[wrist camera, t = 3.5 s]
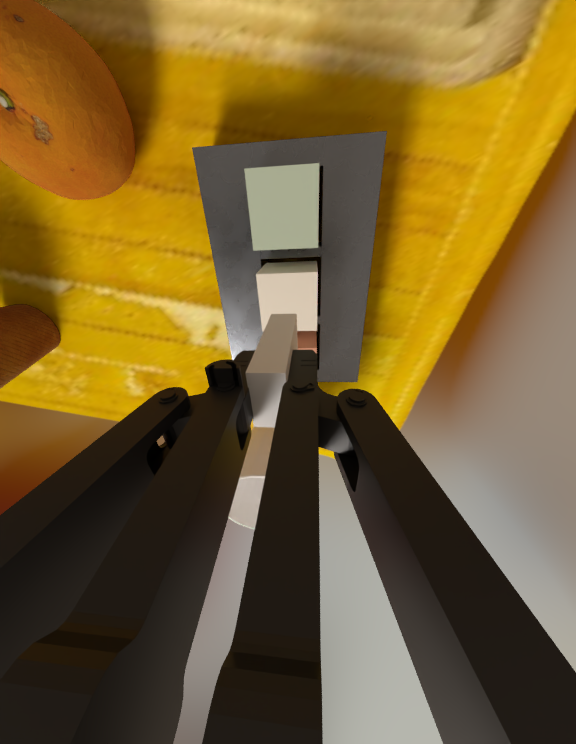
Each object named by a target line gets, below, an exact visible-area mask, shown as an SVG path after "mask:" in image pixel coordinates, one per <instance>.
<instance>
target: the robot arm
mask: <svg viewBox="0 0 576 744" xmlns="http://www.w3.org/2000/svg"><path fill="white" fill-rule="evenodd" d="M205 371H206V375H207V379H208V383H209V388H208V390H207V391H206V393H203V394H198V395H193V396H188V393H187V391H186V390H185V389H183V388H181V387H172V388H167V389H164V390H162V391H160V392H158V393H156V394H155V395H153V396H152V397H151V398H150V399H148V400H147V401H146V402H144V403H143V404H142V405H141V406H139V407H138V408H137V409H136V410H134V411H133V412H132V413H130V414H129V415H128V416H127V417H125V418H124V419H123V420H121V421H120V422H119V423H118V424H116V425H115V426H114V427H113V428H111V429H110V430H109V431H107V432H106V433H105V434H104V435H102V436H101V437H100V438H98V439H97V440H96V441H95V442H93V443H92V444H91V445H90V446H88V447H87V448H86V449H85V450H83V451H82V452H81V453H79V454H78V455H77V456H75V457H74V458H73V459H72V460H70V461H69V462H68V463H66V464H65V465H64V466H63V467H61V468H60V469H59V470H58V471H56V472H55V473H54V474H52V475H51V476H50V477H49V478H47V479H46V480H45V481H43V482H42V483H41V484H40V485H38V486H37V487H36V488H35V489H33V490H32V491H31V492H29V493H28V494H27V495H26V496H24V497H23V498H22V499H20V500H19V501H18V502H17V503H16V504H14V505H13V506H11V507H10V508H9V509H8V510H6V511H5V512H4V513H3V514H1V515H0V744H173V741H174V738H175V734H176V730H177V726H178V722H179V717H180V713H181V707H182V700H183V684H184V673H185V668H186V664H187V660H188V656H189V653H190V650H191V646H192V642H193V639H194V635H195V632H196V628H197V625H198V621H199V618H200V614H201V611H202V607H203V604H204V600H205V597H206V593H207V590H208V586H209V583H210V579H211V576H212V572H213V568H214V565H215V562H216V558H217V555H218V551H219V548H220V544H221V541H222V537H223V534H224V530H225V527H226V523H227V520H228V516H229V513H230V509H231V506H232V502H233V499H234V495H235V492H236V488H237V485H238V481H239V478H240V474H241V471H242V467H243V464H244V460H245V457H246V453H247V449H248V446H249V442H250V439H251V427H250V425H251V422H252V418H253V423H254V427H273V428H274V433H273V439H272V444H271V449H270V454H269V459H268V464H267V469H266V475H265V480H264V485H263V490H262V495H261V500H260V505H259V510H258V516H257V521H256V526H255V531H254V537H253V542H252V546H251V552H250V557H249V562H248V567H247V573H246V577H245V583H244V588H243V593H242V598H241V603H240V608H239V614H238V618H237V624H236V629H235V633H234V638H233V642H232V645H231V649H230V651H229V653H228V655H227V657H226V659H225V661H224V663H223V665H222V667H221V670H220V674H219V676H218V680H217V683H216V686H215V690H214V694H213V698H212V702H211V706H210V710H209V714H208V719H207V724H206V729H205V734H204V738H203V742H202V744H322V684H321V656H320V655H321V653H320V566H319V565H320V556H319V460H318V459H319V457H318V456H319V453H318V447H321V448H324V449H328V450H331V451H334V456H335V459H336V461H337V464H338V467H339V469H340V472H341V474H342V477H343V480H344V482H345V485H346V488H347V490H348V493H349V496H350V498H351V501H352V503H353V506H354V509H355V511H356V514H357V517H358V519H359V522H360V524H361V527H362V530H363V533H364V535H365V538H366V540H367V543H368V546H369V549H370V551H371V554H372V556H373V559H374V562H375V564H376V567H377V570H378V572H379V575H380V578H381V580H382V583H383V585H384V588H385V591H386V593H387V596H388V599H389V601H390V604H391V606H392V609H393V612H394V614H395V617H396V620H397V622H398V625H399V628H400V630H401V633H402V636H403V638H404V641H405V643H406V646H407V649H408V651H409V654H410V656H411V659H412V662H413V665H414V667H415V670H416V673H417V675H418V678H419V680H420V683H421V686H422V688H423V691H424V694H425V697H426V699H427V702H428V704H429V707H430V710H431V712H432V715H433V718H434V720H435V723H436V726H437V728H438V731H439V733H440V736H441V739H442V741H443V744H576V672H575V671H574V670H573V668H572V667H571V665H570V664H569V663H568V661H567V660H566V659H565V657H564V656H563V654H562V653H561V652H560V650H559V649H558V648H557V646H556V645H555V643H554V642H553V641H552V639H551V638H550V637H549V636H548V634H547V632H546V631H545V630H544V629H543V627H542V626H541V624H540V623H539V621H538V620H537V619H536V617H535V616H534V615H533V613H532V612H531V611H530V609H529V608H528V606H527V605H526V604H525V602H524V601H523V600H522V598H521V597H520V595H519V594H518V593H517V591H516V590H515V589H514V587H513V586H512V584H511V583H510V582H509V580H508V579H507V578H506V576H505V575H504V574H503V572H502V571H501V569H500V568H499V567H498V565H497V564H496V563H495V561H494V560H493V558H492V557H491V556H490V554H489V553H488V552H487V550H486V549H485V548H484V546H483V545H482V543H481V542H480V541H479V539H478V538H477V537H476V535H475V534H474V532H473V531H472V530H471V528H470V527H469V525H468V524H467V523H466V521H465V520H464V519H463V517H462V516H461V514H460V513H459V512H458V510H457V509H456V508H455V507H454V505H453V504H452V502H451V501H450V499H449V498H448V497H447V495H446V494H445V493H444V491H443V490H442V488H441V487H440V486H439V484H438V483H437V482H436V480H435V479H434V478H433V477H432V475H431V473H430V472H429V471H428V469H427V468H426V467H425V465H424V464H423V462H422V461H421V460H420V458H419V457H418V456H417V454H416V453H415V452H414V450H413V449H412V448H411V446H410V445H409V443H408V442H407V441H406V439H405V438H404V436H403V435H402V434H401V432H400V431H399V429H398V428H397V427H396V425H395V424H394V423H393V421H392V420H391V419H390V417H389V416H388V414H387V413H386V412H385V410H384V409H383V408H382V406H381V405H380V403H379V402H378V401H377V399H376V398H375V397H374V396H373V395H372V394H371V393H369V392H367V391H365V390H360V389H348V390H344V391H342V392H341V393H339V395H338V396H333V395H330V394H327V393H325V392H323V391H322V390H321V389H320V388H319V387H318V383H317V354H316V353H315V352H314V350H298V340H297V314H271V316H270V318H269V320H268V323H267V325H266V327H265V330H264V332H263V334H262V336H261V339H260V341H259V343H258V345H257V348H256V350H243V351H242V352H240V353H239V354H237V355H236V357H235V359H234V360H219V361H216V362H213V363H211V364H209V365H208V366H207V367H205ZM162 435H163V437H164V440H165V442H164V443H163V444H162V445H160V446H158V444H157V442H156V441H157V440H158V439H159V438H160V437H161V436H162Z"/></svg>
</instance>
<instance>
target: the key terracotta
mask: <svg viewBox="0 0 576 744" xmlns="http://www.w3.org/2000/svg"><path fill="white" fill-rule="evenodd" d="M297 340H298V350H314V352H315V353H316V354H317V338H316V331H297Z"/></svg>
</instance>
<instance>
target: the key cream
mask: <svg viewBox="0 0 576 744" xmlns="http://www.w3.org/2000/svg"><path fill="white" fill-rule="evenodd" d="M256 280H257V289H258V298H259V307H260V316H261V325H262V331H264V330H265V327H266V325H267V323H268V320H269V318H270V316H271V314H297V331H317V298H318V268H317V261H299V262H273V263H266V264H265V265H264V266H263V267H262V268H261V269H260V270H259V271H258V272H257V274H256Z"/></svg>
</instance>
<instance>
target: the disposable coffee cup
mask: <svg viewBox="0 0 576 744" xmlns="http://www.w3.org/2000/svg"><path fill="white" fill-rule="evenodd" d="M59 343H60V334H59V331H58V329H57V327H56V326H55V324H54V323H53V322H52V320H51V319H50V318H49V317H48V316H46V315H45V314H44V313H43V312H41V311H39V310H38V309H36V308H34V307H31V306H29V305H24V304H16V305H11V306H5V307H0V388H2V387H3V386H4V385H6V384H7V383H8V382H10V381H11V380H13V379H14V378H15V377H17V376H18V375H19V374H20V373H22V372H23V371H24V370H26V369H27V368H29V367H30V366H31V365H33V364H34V363H35V362H37V361H38V360H40V359H41V358H42V357H44V356H45V355H46V354H48V353H49V352H50V351H52V350H53V349H55V348H56V347H57V346H58V345H59Z"/></svg>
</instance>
